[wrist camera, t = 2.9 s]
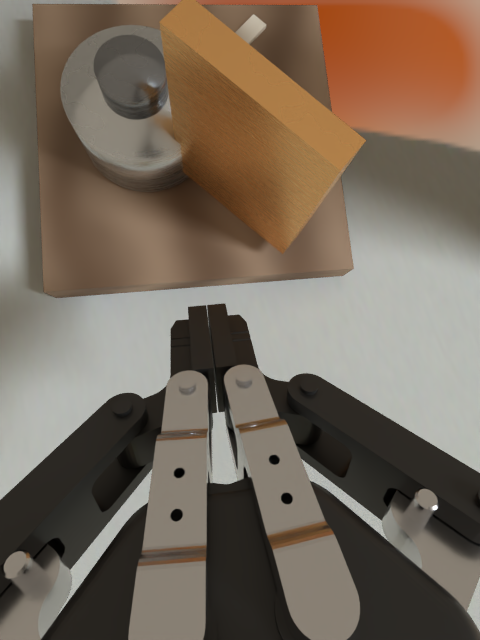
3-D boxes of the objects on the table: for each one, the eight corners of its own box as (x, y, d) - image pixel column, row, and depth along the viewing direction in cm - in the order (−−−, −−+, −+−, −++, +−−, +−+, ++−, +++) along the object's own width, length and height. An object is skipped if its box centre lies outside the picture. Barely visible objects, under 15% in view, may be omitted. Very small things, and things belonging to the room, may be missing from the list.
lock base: (309, 29, 29) (318, 1, 27) (342, 275, 27) (355, 267, 25) (45, 30, 27) (30, -1, 25) (56, 297, 25) (41, 290, 22)
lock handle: (57, 137, 24) (-67, -56, 13) (140, 57, 25) (92, -181, 14) (248, 295, 24) (286, 235, 13) (322, 206, 25) (414, 83, 14)
